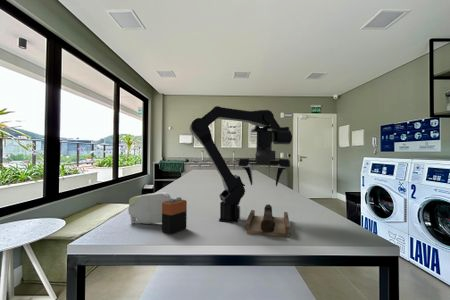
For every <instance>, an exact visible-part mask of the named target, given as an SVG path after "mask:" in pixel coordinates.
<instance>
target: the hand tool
mask: <svg viewBox="0 0 450 300" xmlns="http://www.w3.org/2000/svg"><path fill="white" fill-rule="evenodd" d="M262 216H263V220H262V222H261V230H262V231H263V232H265V233H270V232H273V231H274V227H275V222H274V221H273V220H274V217H275V216H273V207H272V205H271V204H265V206H264V212H263V215H262Z"/></svg>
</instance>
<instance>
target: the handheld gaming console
mask: <svg viewBox="0 0 450 300" xmlns="http://www.w3.org/2000/svg"><path fill="white" fill-rule="evenodd" d="M170 198H171V195H170V193H168V192H166V191H163V192H155V193H154V192H152V193H146V194H142V195H136V196H133V197H130V198H129V200H128V208H127V209H128V210H127V212H128V215H129V216H130V223H131V224H132V223H135V224H146V225H147V224H148V225H149V224H158V223H159V224H162V202H165V201H167V199H170Z"/></svg>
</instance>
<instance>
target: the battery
mask: <svg viewBox="0 0 450 300" xmlns="http://www.w3.org/2000/svg"><path fill="white" fill-rule="evenodd" d="M187 205H188V203H187V199H182V197H180V196H179V197H176V198H170V199H167V201H165V202H162V223H161V232H163V233H166V234H168V235H173V234H175V233H177V232H180V231H183V230H186V229H187V222H188V221H187V218H188V217H187V211H188V210H187Z"/></svg>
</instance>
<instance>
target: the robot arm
mask: <svg viewBox="0 0 450 300" xmlns="http://www.w3.org/2000/svg"><path fill="white" fill-rule="evenodd" d="M217 119H219V120H229V121H234V122H235V121H236V122H244V123H248V124H250V125H253V126H254V127H253V128H252V129H251V130H250V133H256V142H255V143H256V146H255V147H256V149H255V150H256V152H255V159H251V158H241V157H240V158H239V159H238V167H241V169H244V171H246V174H247V176H248V180H249V183H250V185H251V186H253V169H252V166H253V165H254V166H259V165H260V166H277V170H276V171H277V172H276V179H275V186H276V187H277V186H278V184H279V180H280V178H281V175H282V173H283V170H287V168H290V167H291V160H290V159H288V158H278V160H276V150H273V147H272V146H273V144H274V145H290V144H291V143H292V140H293V134H292V132H291V130H290V127H289V126H285V127H283V126H282V127H281V126H280V124H279V123H278V121H277V120H276V118H275V115H274V113H273V112H272V110H269V109H260V110H251V111H250V110H244V109H237V108H229V107H222V106H219V105H218V106H217V105H216V106H214V107H212V108H211V110H210V111H209V112H207V113H205V114H204V116H202V117H197V118H194V120H193V121H192V122H191V123H190V124H189V131H190V133H191V134H192V135H193V137H194V138H195V139H196V140H197V141H198V142H199V143H200V144H201V145H202V147H203V149H204V150H205V152H206V154H207V155H208V157H209V159H210V160H211V162H212V164H213V166H214V167H215V169H216V171H217V173H218V174H219V176H220V178H221V182H222V186H223V188H224V190H223V191H222V192H220V194H219V198H220V201H221V202H220V204H219V207H220V208H219V209H220V210H219V212H220V215H219V217H220V218H219V219H218V222H228V223H238V221H239V220H240V218H241V206H240V203H241V200H242V199H243V197H244V196H245V193H246V189H245V187H246V185H245V184H244V183H243V181H242V178H241V177H240V175H237V174H233V173H232V172H231V169H230V168H229V167H228V164H227V162H226V161H225V159H224V158H223V156H222V154H221V152H220V151H219V149H218V146H217V145H216V143H215V141H214V140H213V137H212V132H211V130H210V127H209V126H210V125H212V123H214V122H215V121H216V120H217ZM272 143H273V144H272Z"/></svg>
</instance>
